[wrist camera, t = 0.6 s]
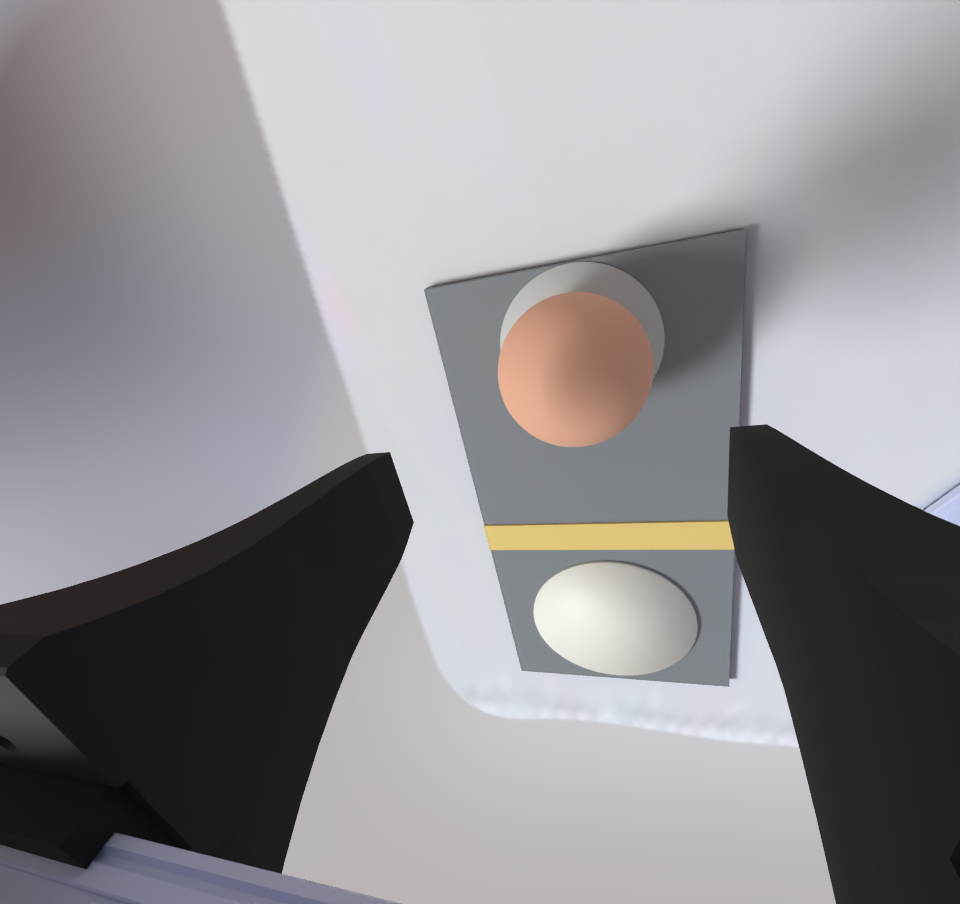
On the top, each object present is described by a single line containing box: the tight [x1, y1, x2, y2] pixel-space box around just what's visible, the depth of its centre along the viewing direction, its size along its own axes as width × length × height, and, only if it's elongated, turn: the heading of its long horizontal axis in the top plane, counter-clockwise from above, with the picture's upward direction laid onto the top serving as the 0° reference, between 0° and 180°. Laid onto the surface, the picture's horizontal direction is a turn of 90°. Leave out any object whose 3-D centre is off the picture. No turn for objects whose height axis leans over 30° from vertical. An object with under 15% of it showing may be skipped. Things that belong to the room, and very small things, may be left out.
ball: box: [498, 292, 654, 447], centre depth 16 cm, size 5×5×5 cm
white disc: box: [533, 561, 698, 676], centre depth 25 cm, size 8×8×1 cm
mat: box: [424, 229, 747, 687], centre depth 22 cm, size 22×11×1 cm, turn 12°
